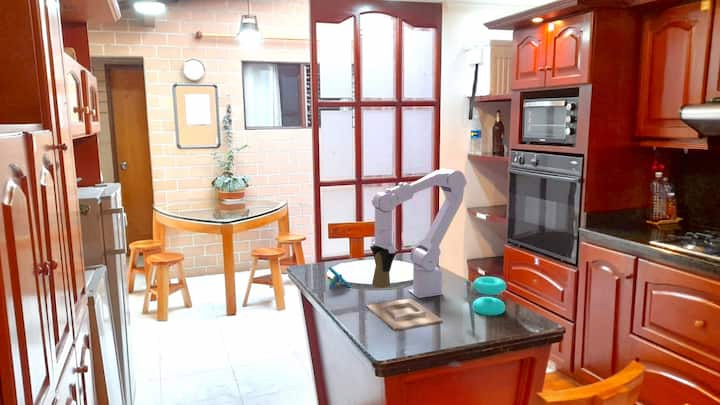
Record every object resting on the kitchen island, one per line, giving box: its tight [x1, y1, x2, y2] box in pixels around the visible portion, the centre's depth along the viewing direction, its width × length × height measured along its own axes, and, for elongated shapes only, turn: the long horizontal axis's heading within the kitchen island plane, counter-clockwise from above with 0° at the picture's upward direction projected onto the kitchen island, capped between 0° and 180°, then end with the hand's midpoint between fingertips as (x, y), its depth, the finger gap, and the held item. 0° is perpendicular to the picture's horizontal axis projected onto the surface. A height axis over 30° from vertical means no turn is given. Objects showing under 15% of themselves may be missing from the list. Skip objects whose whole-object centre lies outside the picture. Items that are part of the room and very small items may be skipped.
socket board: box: [366, 297, 444, 331], centre depth 161 cm, size 16×20×2 cm
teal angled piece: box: [328, 266, 351, 289], centre depth 186 cm, size 11×6×10 cm
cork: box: [371, 252, 391, 288], centre depth 172 cm, size 6×6×11 cm
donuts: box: [472, 276, 507, 317], centre depth 163 cm, size 10×10×10 cm
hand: (382, 269), depth 172 cm, fingers closed on cork, 5 cm apart
